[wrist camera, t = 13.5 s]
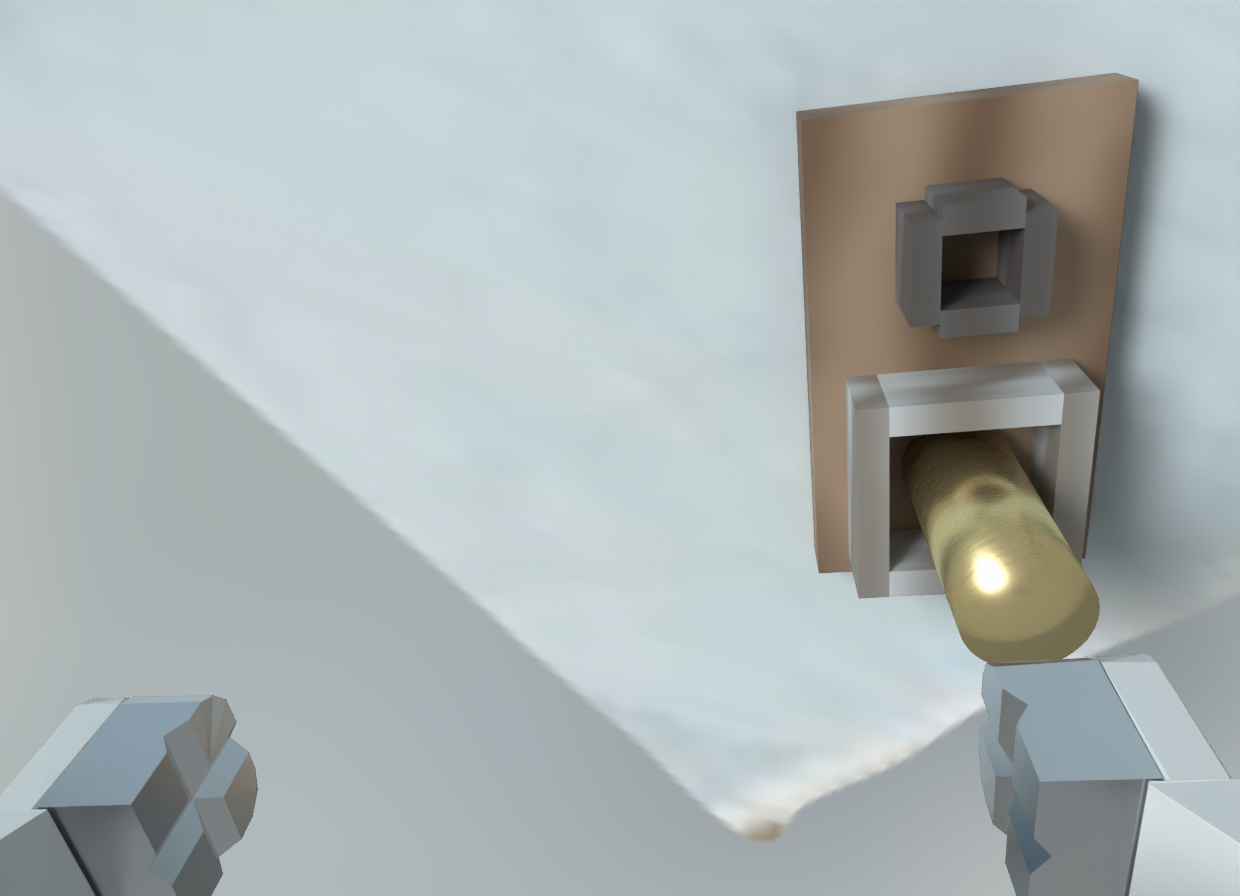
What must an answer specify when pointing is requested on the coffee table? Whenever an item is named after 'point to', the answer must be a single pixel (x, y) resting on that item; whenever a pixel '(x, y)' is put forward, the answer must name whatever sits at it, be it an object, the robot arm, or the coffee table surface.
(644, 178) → the coffee table surface
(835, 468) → the board
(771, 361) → the coffee table surface
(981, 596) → the brass cylinder rod
